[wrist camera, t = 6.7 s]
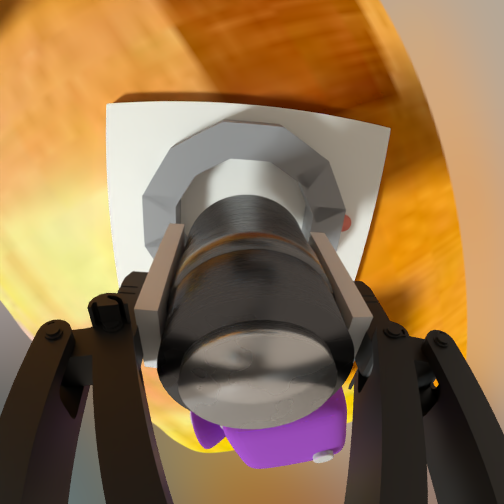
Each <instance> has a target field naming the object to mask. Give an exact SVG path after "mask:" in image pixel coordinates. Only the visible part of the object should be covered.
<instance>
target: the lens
mask: <svg viewBox="0 0 504 504" xmlns="http://www.w3.org/2000/svg"><path fill="white" fill-rule="evenodd" d="M166 310H167V317H166V321H165V325H164V330H163V334H162V338H161V343H160V347H159V351H158V357H157V372H158V375H159V379H160V381H161V383H162V385H163V387H164V388H165V390H166V391H167V392H168V394H169V395H170V396H171V397H172V398H173V399H174V400H175V401H176V402H178V403H179V404H180V405H182V406H183V407H185V408H186V409H188V410H190V411H192V412H194V413H195V414H196V415H198V416H199V417H201V418H203V419H205V420H207V421H209V422H212V423H215V424H218V425H221V426H225V427H231V428H238V429H263V428H271V427H276V426H281V425H285V424H288V423H291V422H294V421H296V420H299V419H301V418H303V417H305V416H307V415H309V414H310V413H312V412H314V411H315V410H316V409H318V408H319V407H320V406H322V405H323V404H324V403H325V402H326V401H327V400H328V399H329V398H330V397H331V396H333V395H334V394H335V393H336V392H337V391H338V390H339V389H340V388H341V386H342V385H343V384H344V382H345V381H346V379H347V378H348V376H349V374H350V372H351V369H352V366H353V362H354V345H353V341H352V338H351V336H350V334H349V331H348V329H347V327H346V325H345V322H344V320H343V318H342V316H341V313H340V311H339V309H338V307H337V304H336V299H335V295H334V291H333V289H332V287H331V284H330V282H329V280H328V278H327V276H326V274H325V272H324V270H323V268H322V266H321V264H320V262H319V260H318V258H317V256H316V254H315V252H314V251H313V249H312V248H311V247H310V246H309V244H308V243H307V241H306V238H305V236H304V234H303V232H302V230H301V228H300V226H299V224H298V222H297V221H296V219H295V218H294V216H293V215H292V214H291V213H290V212H289V211H288V210H287V209H286V208H285V207H283V206H282V205H281V204H279V203H277V202H275V201H273V200H271V199H269V198H266V197H262V196H257V195H235V196H231V197H227V198H224V199H221V200H219V201H217V202H215V203H213V204H212V205H210V206H209V207H208V208H206V209H205V210H204V211H203V212H202V213H201V214H200V215H199V216H198V217H197V219H196V220H195V221H194V223H193V225H192V227H191V229H190V232H189V234H188V238H187V241H186V245H185V248H184V252H183V256H182V257H181V259H180V261H179V263H178V266H177V269H176V272H175V275H174V279H173V282H172V286H171V290H170V293H169V297H168V301H167V307H166Z"/></svg>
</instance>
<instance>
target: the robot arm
mask: <svg viewBox="0 0 504 504" xmlns="http://www.w3.org/2000/svg"><path fill="white" fill-rule="evenodd" d="M308 244H309V246H310V247H311V248H312V249H313V251H314V252H315V254H316V256H317V258H318V260H319V262H320V264H321V266H322V268H323V270H324V272H325V274H326V276H327V278H328V280H329V282H330V284H331V287H332V289H333V291H334V295H335V299H336V304H337V307H338V309H339V311H340V313H341V316H342V318H343V320H344V322H345V325H346V327H347V329H348V331H349V334H350V336H351V338H352V341H353V345H354V360H355V361H356V364H357V366H358V369H357V371H356V373H355V375H354V377H353V379H352V381H351V383H350V385H349V388H348V389H351V388H352V386H353V384H354V402H353V422H352V437H351V450H350V461H349V470H348V479H347V487H346V495H345V502H344V504H428V498H427V497H428V488H427V466H428V469H429V473H430V476H431V480H432V483H433V487H434V491H435V494H436V498H437V502H438V504H504V434H503V432H502V430H501V428H500V425H499V423H498V421H497V419H496V417H495V415H494V413H493V411H492V409H491V407H490V405H489V403H488V401H487V399H486V397H485V395H484V393H483V391H482V389H481V387H480V385H479V384H478V382H477V380H476V378H475V376H474V374H473V373H472V371H471V369H470V367H469V365H468V364H467V362H466V360H465V358H464V357H463V355H462V353H461V352H460V350H459V348H458V347H457V345H456V343H455V342H454V340H453V339H452V338H451V337H450V336H449V335H448V334H446V333H445V332H443V331H439V330H432V331H430V332H429V333H428V334H427V336H426V338H425V339H421V338H416V337H411V336H409V334H408V332H407V330H406V329H405V328H404V327H403V326H401V325H399V324H398V323H395V322H392V321H390V320H389V318H388V317H387V315H386V313H385V312H384V310H383V308H382V307H381V305H380V303H378V300H377V298H376V297H375V295H374V294H373V292H372V290H371V289H370V288H369V287H368V286H367V285H366V284H365V283H363V282H362V281H353V280H352V278H351V277H350V275H349V273H348V271H347V270H346V268H345V266H344V265H343V263H342V261H341V260H340V258H339V256H338V255H337V253H336V251H335V250H334V248H333V246H332V245H331V243H330V241H329V240H328V238H327V236H326V235H325V233H319V232H310V235H309V240H308ZM184 248H185V224H173V223H169V225H168V228H167V230H166V232H165V234H164V237H163V239H162V241H161V243H160V246H159V248H158V250H157V253H156V255H155V257H154V260H153V262H152V265H151V267H150V269H149V272H137V271H132V272H131V273H130V274H129V275H127V276H126V277H125V278H124V280H123V282H122V284H121V287H120V288H119V290H118V293H117V294H116V293H105V294H101V295H98V296H97V297H95V298H93V299H92V300H91V301H90V302H89V305H88V307H87V308H88V311H89V315H90V319H91V322H92V326H93V327H91V328H86V329H77V330H72V329H71V327H70V324H68V323H67V322H66V321H63V320H52V321H49V322H46V323H45V324H43V325H42V326H41V327H40V328H39V330H38V331H37V333H36V335H35V337H34V339H33V341H32V343H31V345H30V347H29V349H28V352H27V354H26V356H25V358H24V360H23V363H22V365H21V367H20V369H19V371H18V373H17V376H16V378H15V380H14V383H13V385H12V388H11V390H10V393H9V395H8V398H7V400H6V403H5V405H4V408H3V411H2V414H1V416H0V504H68V498H69V491H70V483H71V476H72V470H73V463H74V458H75V452H76V447H77V441H78V436H79V431H80V427H81V422H82V417H83V413H84V409H85V404H86V400H87V396H88V392H89V388H90V385H93V404H94V419H95V431H96V441H97V450H98V458H99V465H100V472H101V478H102V484H103V490H104V495H105V500H106V504H174V503H173V501H172V497H171V494H170V491H169V487H168V484H167V481H166V477H165V474H164V470H163V467H162V463H161V460H160V456H159V452H158V448H157V444H156V439H155V435H154V431H153V427H152V422H151V417H150V413H149V408H148V403H147V398H146V392H145V387H144V381H143V376H142V371H141V363H142V359H143V360H144V364H145V367H154V368H157V357H158V351H159V347H160V343H161V338H162V334H163V330H164V325H165V321H166V317H167V310H166V307H167V301H168V297H169V293H170V290H171V286H172V282H173V279H174V275H175V272H176V269H177V266H178V263H179V261H180V259H181V257H182V256H183V252H184ZM353 363H354V362H353ZM435 379H437V381H438V383H439V385H438V386H437V387H435V386H434V384H433V382H434V381H435Z"/></svg>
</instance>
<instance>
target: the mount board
mask: <svg viewBox="0 0 504 504" xmlns="http://www.w3.org/2000/svg"><path fill="white" fill-rule="evenodd" d="M390 130H391V128H388V127H384V126H380V125H376V124H372V123H367V122H363V121H358V120H353V119H348V118H343V117H338V116H332V115H327V114H321V113H315V112H308V111H301V110H294V109H287V108H279V107H270V106H260V105H249V104H237V103H221V102H197V101H147V102H124V103H110V104H107V106H106V159H107V183H108V198H109V211H110V222H111V232H112V241H113V249H114V257H115V264H116V271H117V277H118V284H119V288H120V287H121V284H122V282H123V280H124V278H125V277H126V276H127V275H129V274H130V273H131V272H132V271H137V272H149V269H150V267H151V265H152V262H153V260H154V257H155V255H156V253H157V250H158V248H159V246H160V243H161V241H162V239H163V237H164V234H165V232H166V230H167V228H168V225H169V223H173V224H185V245H186V241H187V238H188V234H189V232H190V229H191V227H192V225H193V223H194V221H195V220H196V219H197V217H198V216H199V215H200V214H201V213H202V212H203V211H204V210H205V209H206V208H208V207H209V206H210V205H212V204H213V203H215V202H217V201H219V200H221V199H224V198H227V197H231V196H235V195H257V196H262V197H266V198H269V199H271V200H273V201H275V202H277V203H279V204H281V205H282V206H283V207H285V208H286V209H287V210H288V211H289V212H290V213H291V214H292V215H293V216H294V218H295V219H296V221H297V222H298V224H299V226H300V228H301V230H302V232H303V234H304V236H305V238H306V241H307V243H308V240H309V235H310V232H319V233H325V235H326V236H327V238H328V240H329V241H330V243H331V245H332V246H333V248H334V250H335V251H336V253H337V255H338V256H339V258H340V260H341V261H342V263H343V265H344V266H345V268H346V270H347V271H348V273H349V275H350V277H351V278H352V280H353V281H355V278H356V274H357V271H358V268H359V264H360V261H361V257H362V254H363V250H364V247H365V243H366V239H367V236H368V232H369V228H370V224H371V220H372V216H373V212H374V208H375V204H376V200H377V195H378V191H379V186H380V182H381V177H382V173H383V168H384V163H385V158H386V152H387V147H388V142H389V136H390Z"/></svg>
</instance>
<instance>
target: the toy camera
mask: <svg viewBox="0 0 504 504" xmlns="http://www.w3.org/2000/svg"><path fill="white" fill-rule="evenodd" d="M190 419H191V423H192V425H193V428H194V431H195V434H196V437H197V439H198V441H199V443H200V444H201V445H202V446H203V447H204V448H205V449H210V448H212V447H213V446H215V445H216V444H217V443H219V442H220V441H221V440H222V439H223V438H224V437H227V439H228V441H229V442H230V444H231V445H232V447H233V448H234V450H235V451H236V452H237V454H238V455H239V456H240V458H241V459H242V460H243V461H244V462H245V463H246V464H247V465H248V466H249V467H252V468H259V469H261V468H271V467H278V466H284V465H291V464H296V463H301V462H306V461H311V460H313V461H314V462H316V463H322V462H326V461H329V460H331V459H332V458H333V457H334V454H336V453H338V452H339V451H341V450H342V448H343V446H344V443H345V437H346V422H347V406H346V400H345V396H344V393H343V389H342V386H341V388H340V389H339V390H338V391H337V392H336V393H335V394H334V395H333V396H331V397H330V398H329V399H328V400H327V401H326V402H325V403H324V404H323V405H322V406H320V407H319V408H318V409H316V410H315V411H314V412H312V413H310V414H309V415H307V416H305V417H303V418H301V419H299V420H296V421H294V422H291V423H288V424H285V425H281V426H276V427H271V428H263V429H238V428H231V427H225V426H221V425H218V424H215V423H212V422H209V421H207V420H205V419H203V418H201V417H199V416H198V415H196V414H195V413H194V412H192V411H190Z"/></svg>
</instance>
